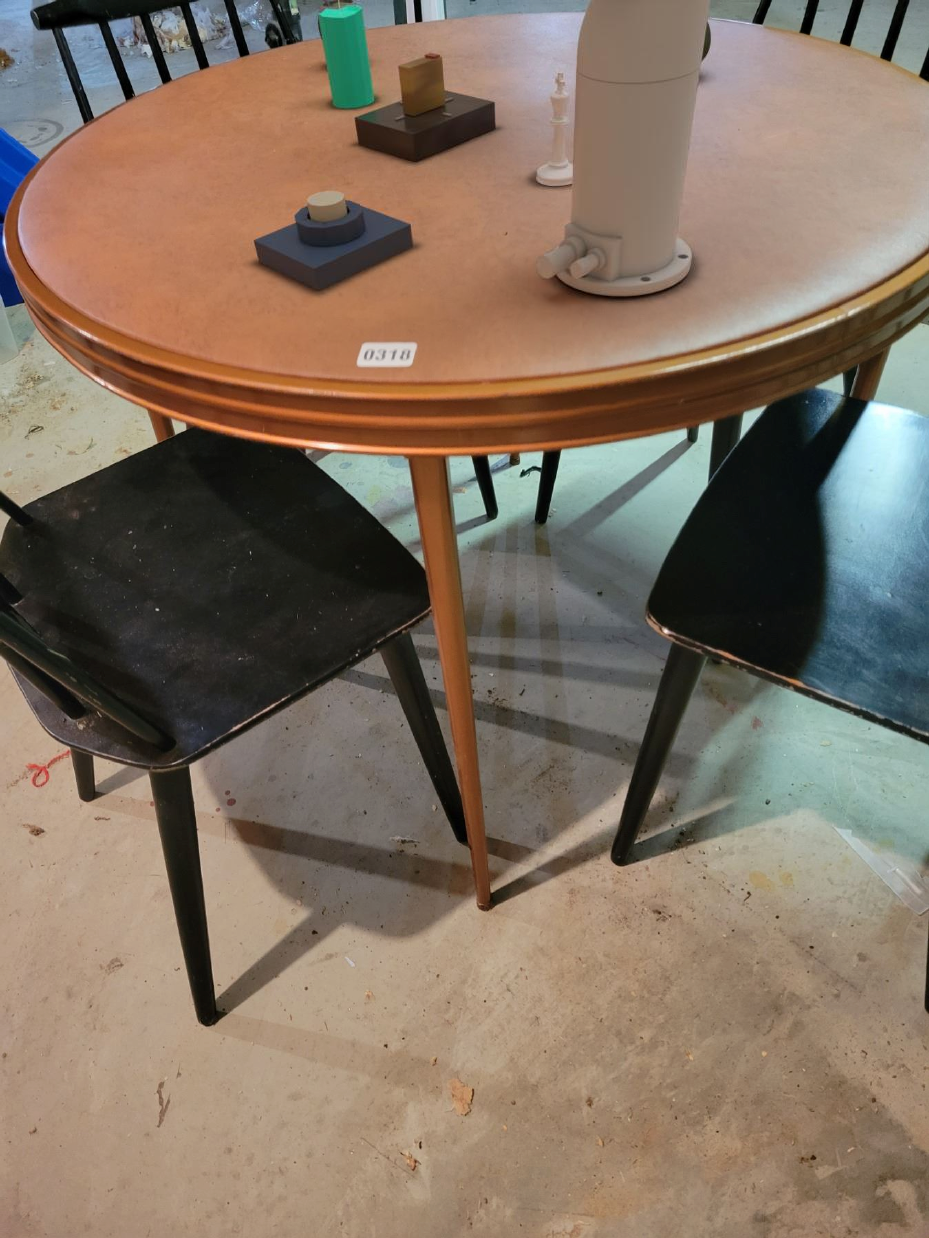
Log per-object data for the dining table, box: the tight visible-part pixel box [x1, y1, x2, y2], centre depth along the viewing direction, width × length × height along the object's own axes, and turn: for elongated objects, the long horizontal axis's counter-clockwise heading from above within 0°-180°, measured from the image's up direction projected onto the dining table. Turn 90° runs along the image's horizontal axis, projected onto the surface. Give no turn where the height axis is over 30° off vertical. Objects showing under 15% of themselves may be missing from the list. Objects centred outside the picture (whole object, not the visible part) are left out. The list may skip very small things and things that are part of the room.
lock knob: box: [397, 52, 446, 116], centre depth 95 cm, size 5×2×5 cm, turn 134°
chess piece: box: [535, 71, 573, 187], centre depth 83 cm, size 5×5×10 cm
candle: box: [317, 0, 375, 109], centre depth 106 cm, size 6×6×12 cm
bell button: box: [306, 190, 348, 222], centre depth 74 cm, size 4×4×2 cm
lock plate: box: [354, 89, 496, 163], centre depth 98 cm, size 14×11×3 cm
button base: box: [253, 199, 414, 292], centre depth 76 cm, size 12×10×4 cm
